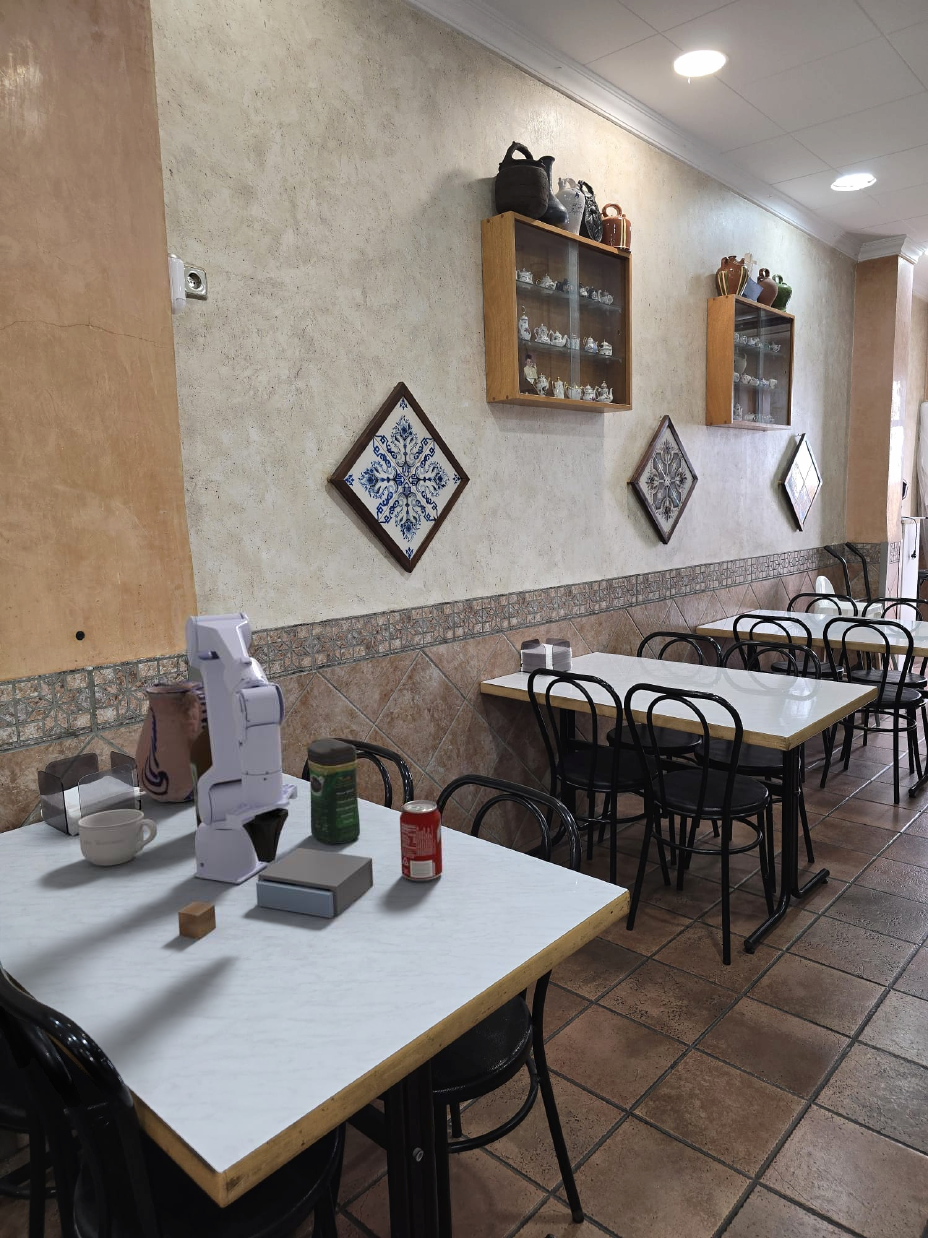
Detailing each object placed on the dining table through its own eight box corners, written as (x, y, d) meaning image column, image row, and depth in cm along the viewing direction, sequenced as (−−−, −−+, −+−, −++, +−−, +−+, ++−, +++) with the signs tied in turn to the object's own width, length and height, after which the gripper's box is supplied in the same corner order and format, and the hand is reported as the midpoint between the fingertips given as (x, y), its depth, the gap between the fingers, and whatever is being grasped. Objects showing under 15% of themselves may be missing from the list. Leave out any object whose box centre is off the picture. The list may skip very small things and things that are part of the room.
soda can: (437, 885, 133) (435, 813, 132) (396, 883, 134) (394, 811, 133) (446, 868, 139) (444, 800, 138) (408, 866, 141) (405, 798, 140)
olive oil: (251, 818, 167) (244, 697, 164) (250, 837, 156) (243, 707, 154) (196, 824, 164) (188, 700, 162) (191, 843, 154) (183, 712, 151)
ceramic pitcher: (183, 780, 194) (177, 675, 191) (249, 792, 183) (243, 682, 181) (119, 802, 179) (111, 689, 176) (186, 817, 168) (178, 697, 166)
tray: (257, 905, 127) (256, 883, 127) (297, 876, 137) (296, 856, 137) (330, 918, 122) (329, 894, 122) (365, 887, 132) (365, 866, 132)
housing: (259, 902, 128) (258, 874, 128) (299, 874, 139) (298, 847, 138) (337, 916, 123) (336, 886, 123) (373, 885, 134) (372, 858, 133)
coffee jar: (367, 838, 154) (363, 741, 152) (329, 849, 149) (325, 749, 147) (341, 824, 162) (337, 732, 160) (304, 834, 157) (300, 739, 155)
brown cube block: (179, 935, 119) (177, 912, 118) (196, 924, 122) (194, 901, 122) (199, 939, 117) (198, 915, 117) (216, 927, 121) (214, 904, 120)
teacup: (67, 867, 144) (63, 823, 144) (114, 844, 154) (111, 803, 154) (128, 878, 139) (125, 832, 138) (173, 854, 149) (170, 811, 148)
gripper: (254, 787, 110) (259, 884, 112) (312, 758, 124) (317, 845, 125) (211, 782, 113) (217, 877, 114) (273, 754, 126) (277, 840, 128)
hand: (266, 860), depth 120 cm, fingers closed
